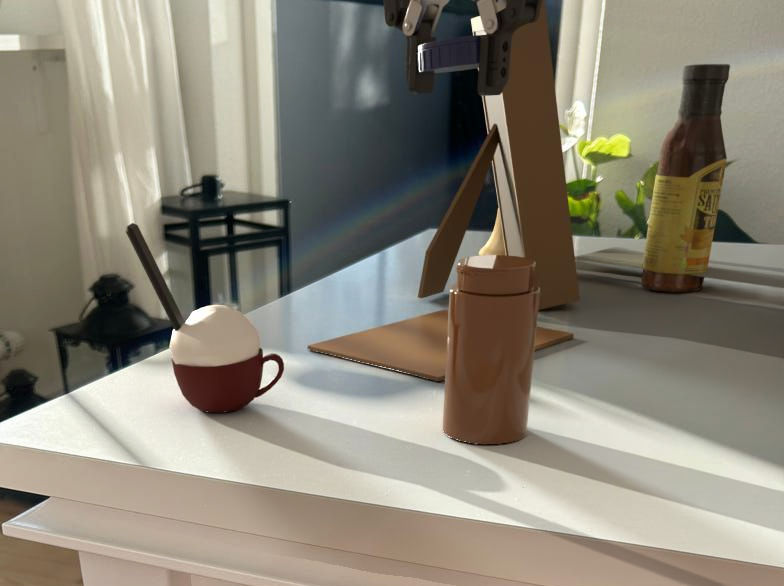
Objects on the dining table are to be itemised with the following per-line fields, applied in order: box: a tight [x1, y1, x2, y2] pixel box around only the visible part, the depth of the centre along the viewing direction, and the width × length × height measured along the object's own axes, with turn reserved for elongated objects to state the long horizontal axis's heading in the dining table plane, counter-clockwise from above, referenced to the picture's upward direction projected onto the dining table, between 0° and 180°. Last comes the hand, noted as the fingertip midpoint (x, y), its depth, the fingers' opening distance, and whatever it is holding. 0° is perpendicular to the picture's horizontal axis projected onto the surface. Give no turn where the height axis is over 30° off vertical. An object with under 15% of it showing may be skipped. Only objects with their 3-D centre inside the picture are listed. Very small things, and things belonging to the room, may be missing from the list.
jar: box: [442, 255, 540, 445], centre depth 64 cm, size 5×5×10 cm
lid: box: [417, 35, 486, 74], centre depth 75 cm, size 6×6×2 cm
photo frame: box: [417, 0, 581, 311], centre depth 99 cm, size 15×22×25 cm
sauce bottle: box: [641, 63, 731, 293], centre depth 99 cm, size 6×6×20 cm
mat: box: [306, 308, 574, 382], centre depth 86 cm, size 18×14×1 cm
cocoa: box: [125, 222, 285, 413], centre depth 69 cm, size 10×6×12 cm, turn 60°
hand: (455, 93), depth 76 cm, fingers closed on lid, 6 cm apart
